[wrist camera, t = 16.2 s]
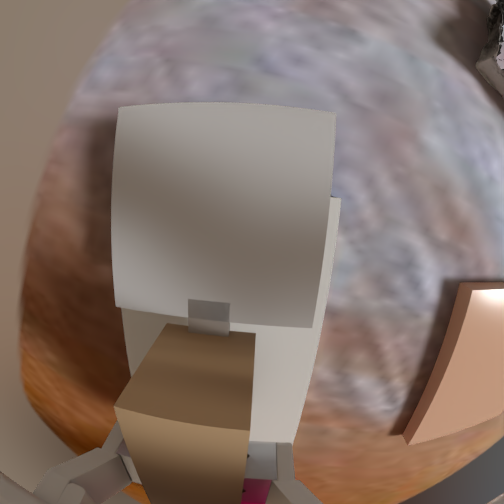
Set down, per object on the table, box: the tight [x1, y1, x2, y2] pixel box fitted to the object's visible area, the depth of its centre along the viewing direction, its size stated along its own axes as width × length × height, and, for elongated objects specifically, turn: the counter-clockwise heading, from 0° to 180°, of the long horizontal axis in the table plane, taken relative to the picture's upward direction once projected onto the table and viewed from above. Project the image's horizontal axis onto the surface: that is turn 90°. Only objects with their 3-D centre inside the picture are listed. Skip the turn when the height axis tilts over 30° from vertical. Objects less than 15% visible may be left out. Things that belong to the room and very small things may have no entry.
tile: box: [402, 282, 504, 446], centre depth 11 cm, size 10×2×9 cm
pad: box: [121, 197, 341, 445], centre depth 11 cm, size 14×8×1 cm, turn 175°
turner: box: [111, 102, 336, 504], centre depth 7 cm, size 14×6×4 cm, turn 176°
